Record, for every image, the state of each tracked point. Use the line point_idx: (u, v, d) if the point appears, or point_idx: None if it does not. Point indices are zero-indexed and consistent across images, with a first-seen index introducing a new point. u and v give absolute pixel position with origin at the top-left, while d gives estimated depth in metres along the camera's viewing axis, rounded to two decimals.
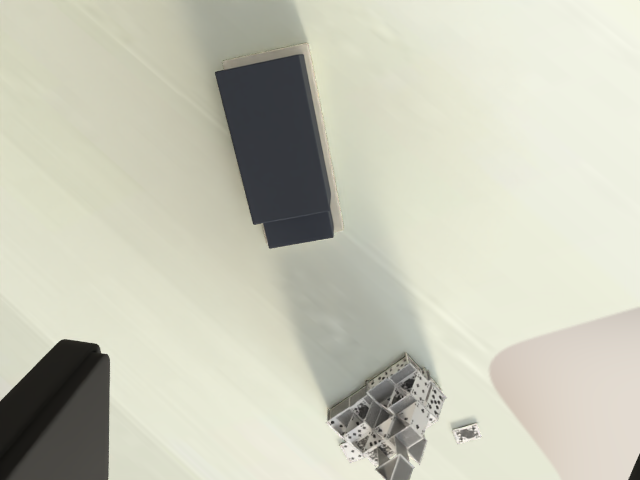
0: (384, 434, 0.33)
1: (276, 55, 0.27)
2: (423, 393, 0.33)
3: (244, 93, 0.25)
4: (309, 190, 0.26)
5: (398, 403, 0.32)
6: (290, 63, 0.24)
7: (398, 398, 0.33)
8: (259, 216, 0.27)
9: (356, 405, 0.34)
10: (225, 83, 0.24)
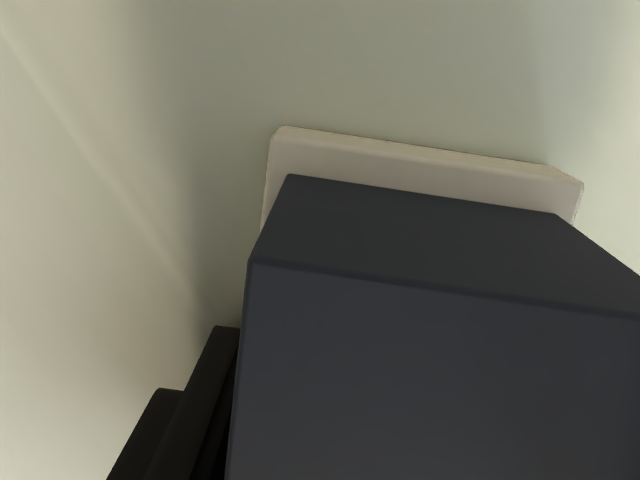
0: None
1: (466, 185, 0.08)
2: None
3: (355, 395, 0.05)
4: None
5: None
6: None
7: None
8: None
9: None
10: (282, 325, 0.05)
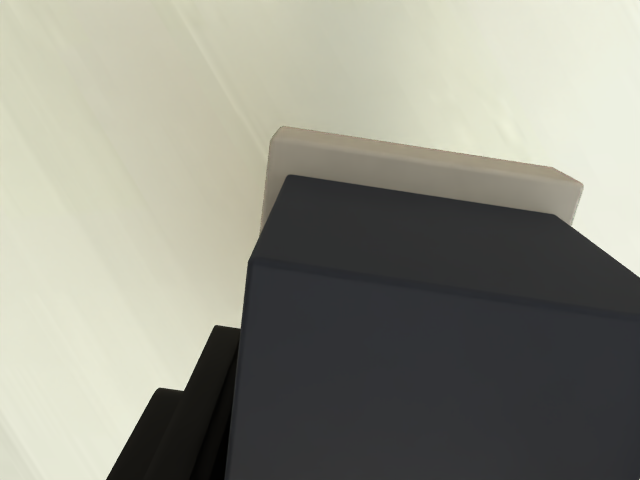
0: None
1: (465, 186, 0.08)
2: None
3: (355, 396, 0.05)
4: None
5: None
6: None
7: None
8: None
9: None
10: (282, 326, 0.05)
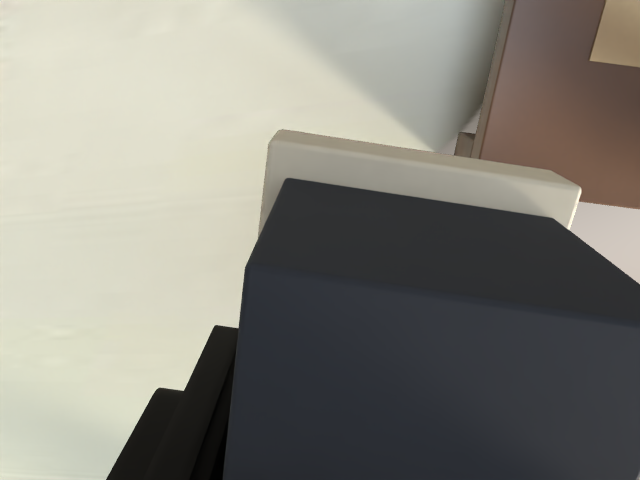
0: None
1: (463, 189, 0.08)
2: None
3: (353, 401, 0.05)
4: None
5: None
6: None
7: None
8: None
9: None
10: (280, 331, 0.05)
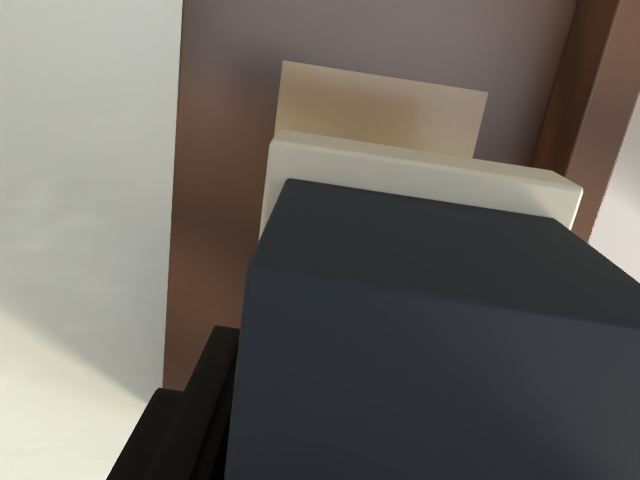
0: None
1: (465, 190, 0.08)
2: None
3: (355, 402, 0.05)
4: None
5: None
6: None
7: None
8: None
9: None
10: (281, 332, 0.05)
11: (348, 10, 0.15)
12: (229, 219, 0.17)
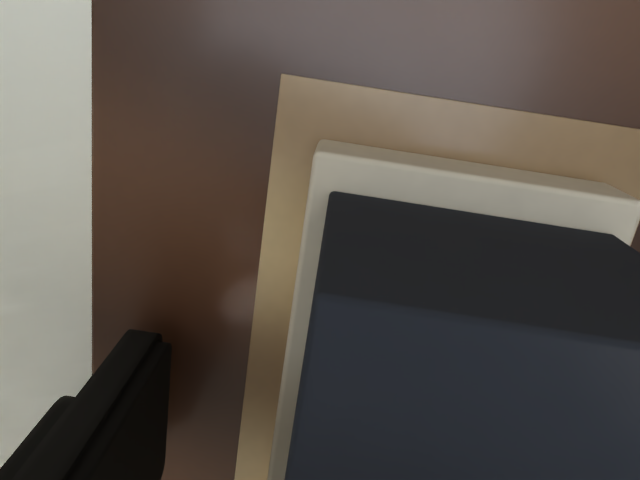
0: None
1: (518, 204, 0.07)
2: None
3: (423, 439, 0.04)
4: None
5: None
6: None
7: None
8: None
9: None
10: (349, 365, 0.04)
11: None
12: (190, 345, 0.10)
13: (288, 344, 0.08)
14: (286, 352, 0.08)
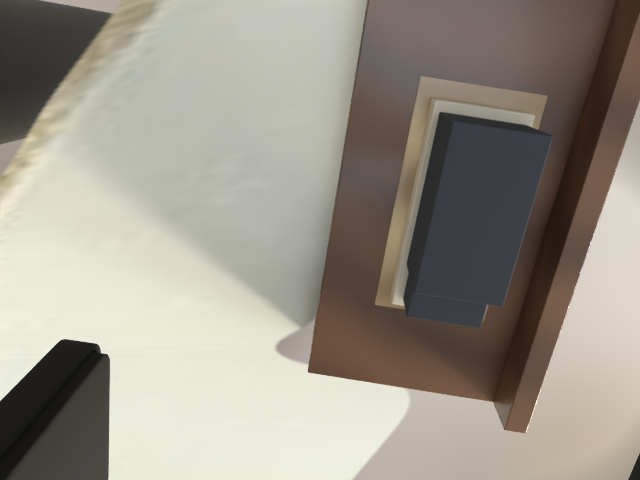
0: None
1: (497, 115, 0.24)
2: None
3: (474, 154, 0.21)
4: (492, 279, 0.23)
5: None
6: (540, 142, 0.21)
7: None
8: (425, 286, 0.23)
9: None
10: (459, 136, 0.21)
11: (463, 46, 0.24)
12: (377, 176, 0.26)
13: (421, 165, 0.25)
14: (420, 168, 0.25)
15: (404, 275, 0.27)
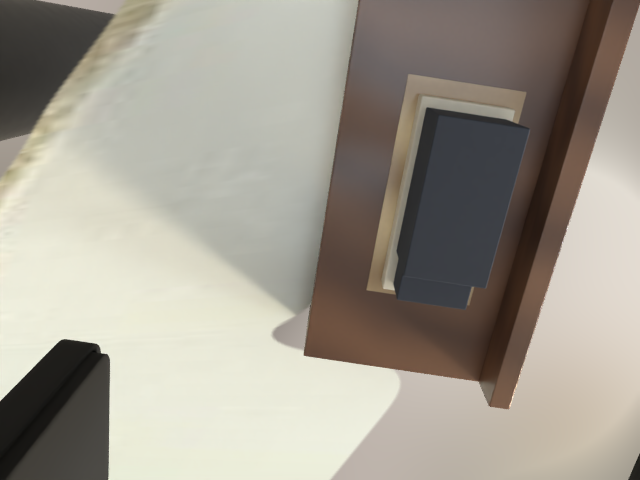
0: None
1: (479, 111, 0.25)
2: None
3: (458, 146, 0.23)
4: (476, 262, 0.24)
5: None
6: (518, 134, 0.22)
7: None
8: (413, 270, 0.25)
9: None
10: (444, 129, 0.22)
11: (447, 45, 0.26)
12: (368, 168, 0.28)
13: (409, 158, 0.26)
14: (409, 160, 0.26)
15: (394, 261, 0.28)
